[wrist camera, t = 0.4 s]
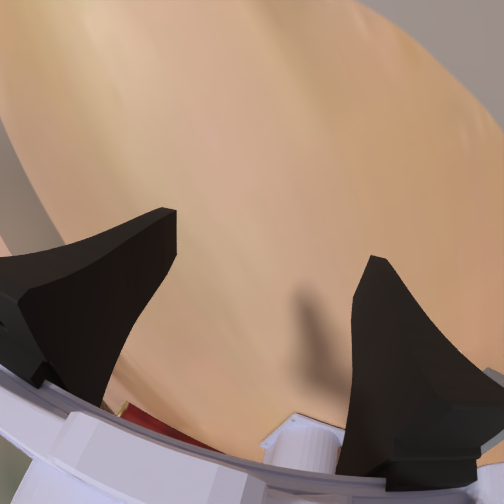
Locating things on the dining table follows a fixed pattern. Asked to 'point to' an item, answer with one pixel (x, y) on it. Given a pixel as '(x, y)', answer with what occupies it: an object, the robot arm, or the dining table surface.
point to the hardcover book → (156, 425)
